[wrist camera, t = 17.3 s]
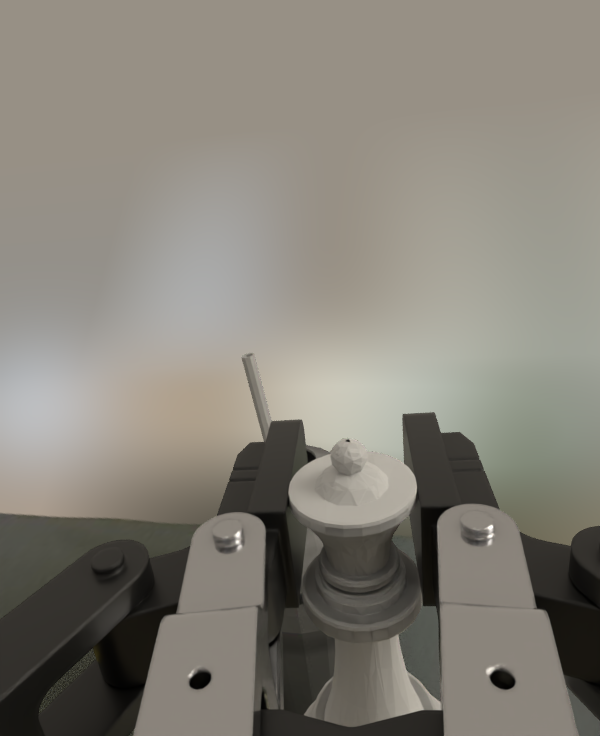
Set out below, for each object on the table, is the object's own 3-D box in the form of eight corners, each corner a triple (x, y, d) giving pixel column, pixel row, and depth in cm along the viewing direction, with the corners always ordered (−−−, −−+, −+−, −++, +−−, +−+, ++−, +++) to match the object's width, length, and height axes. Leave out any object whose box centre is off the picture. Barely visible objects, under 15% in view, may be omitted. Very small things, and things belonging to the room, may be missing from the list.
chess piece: (362, 684, 17) (329, 372, 13) (509, 781, 14) (523, 417, 10) (255, 816, 14) (170, 463, 10) (413, 975, 11) (380, 565, 7)
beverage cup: (375, 818, 24) (342, 408, 17) (227, 766, 27) (137, 392, 19) (407, 673, 31) (393, 325, 23) (283, 642, 33) (233, 321, 25)
